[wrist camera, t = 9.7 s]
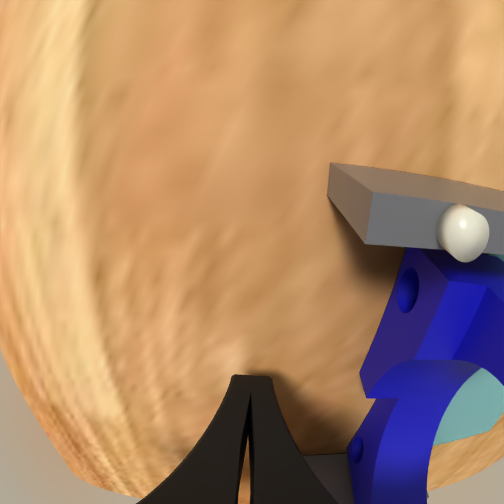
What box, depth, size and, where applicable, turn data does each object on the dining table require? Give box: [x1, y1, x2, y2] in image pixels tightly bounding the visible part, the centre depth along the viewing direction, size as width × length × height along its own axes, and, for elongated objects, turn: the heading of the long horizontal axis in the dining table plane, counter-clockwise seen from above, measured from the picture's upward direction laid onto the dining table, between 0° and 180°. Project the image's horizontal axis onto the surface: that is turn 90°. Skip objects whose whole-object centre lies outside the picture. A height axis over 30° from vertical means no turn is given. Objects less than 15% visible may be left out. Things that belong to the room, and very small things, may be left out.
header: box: [303, 163, 504, 504], centre depth 10 cm, size 8×16×5 cm, turn 178°
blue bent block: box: [347, 247, 504, 504], centre depth 9 cm, size 12×4×6 cm, turn 173°
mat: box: [433, 253, 504, 446], centre depth 12 cm, size 8×15×1 cm, turn 178°
